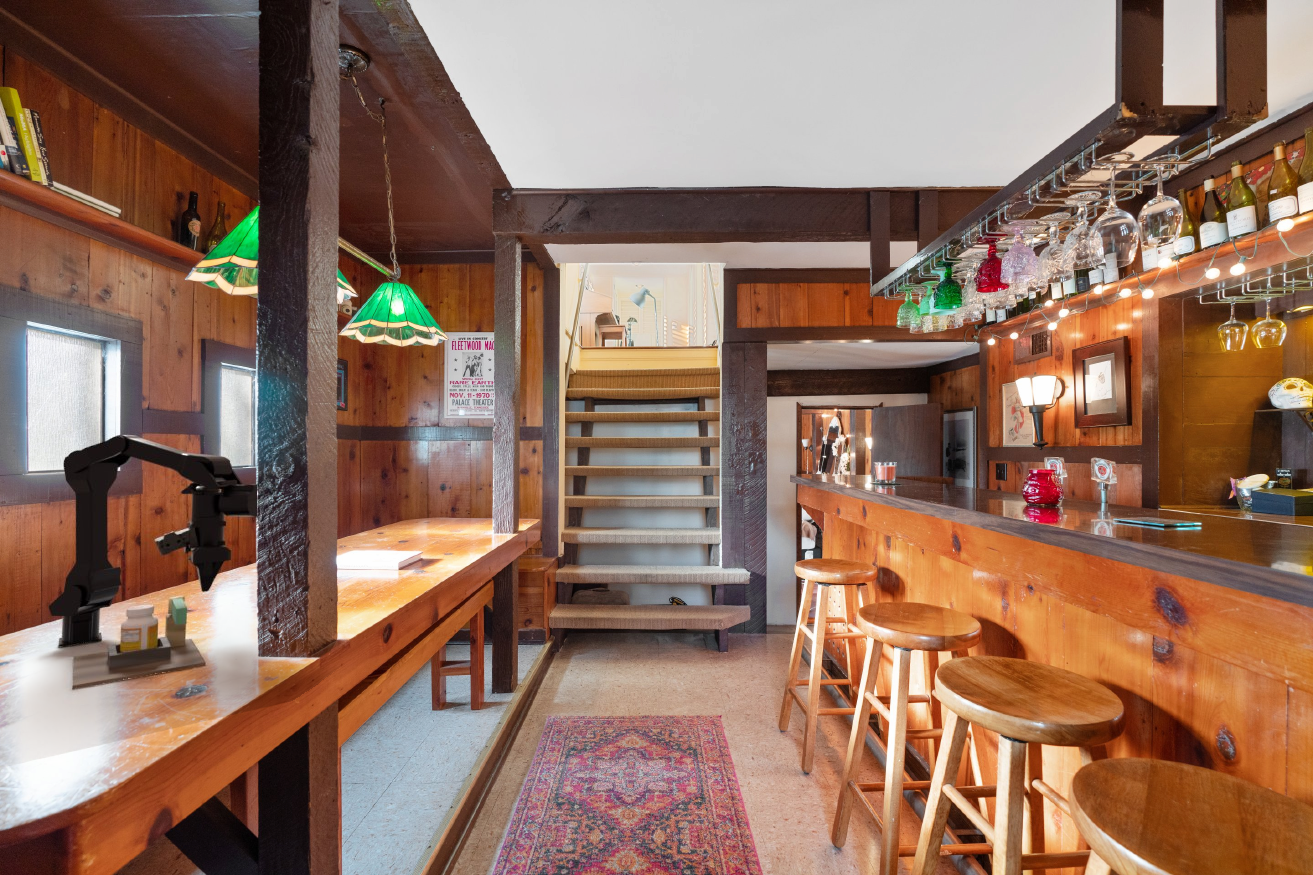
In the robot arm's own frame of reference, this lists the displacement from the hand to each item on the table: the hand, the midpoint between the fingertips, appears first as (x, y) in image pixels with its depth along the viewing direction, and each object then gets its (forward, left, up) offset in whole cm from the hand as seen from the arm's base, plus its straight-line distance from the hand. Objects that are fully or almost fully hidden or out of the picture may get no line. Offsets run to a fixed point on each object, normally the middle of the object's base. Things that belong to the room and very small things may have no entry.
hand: (205, 591), depth 129 cm
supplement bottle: (+7, -11, -10) cm, 16 cm away
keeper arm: (+5, -5, -4) cm, 8 cm away
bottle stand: (+7, -11, -11) cm, 17 cm away
